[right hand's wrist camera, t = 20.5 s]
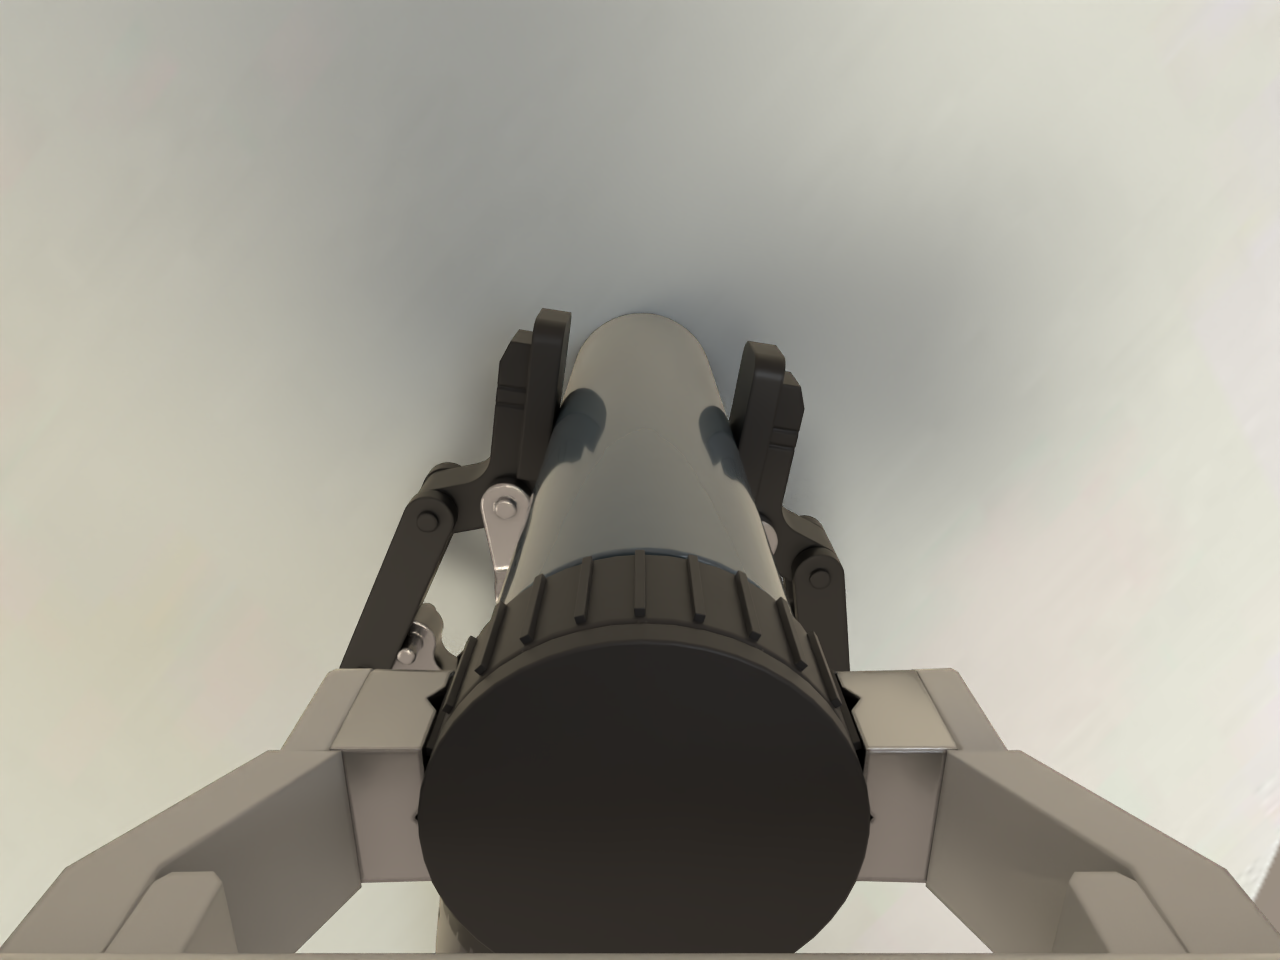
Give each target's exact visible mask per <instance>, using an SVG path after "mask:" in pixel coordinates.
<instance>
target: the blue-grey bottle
mask: <svg viewBox="0 0 1280 960" xmlns="http://www.w3.org/2000/svg"><path fill="white" fill-rule="evenodd" d="M635 550H645V555H657V556H671V557H677V558H682V559H687V558H688V555H689V554H690V555H695V556H697V557H698V562H701V563H704V564H707V565H711V566H714V567H717V568H720V569H723V570H725V571H727V572H729V573H732V574H734V575H736V573H737V571H738V570H739V571H741V572H743V573H745V574H746V575H747V579H748V582H750V583H751V584H753V585H755V586H756V587H758V588H760V589H761V590H763V591H765V592H766V593H767V594H769V595H770V596H771V597H772V598H774V599H775V600H777V599H778V598H780V597H782V598H783V599H785V600H786V601H787V603H788V606H789V609H790V612H791V615H792V616H793V617H794V615H793V612H792V609H791V606H790V603H789V600H788V597H787V594H786V591H785V588H784V585H783V582H782V579H781V576H780V573H779V570H778V567H777V564H776V561H775V558H774V555H773V552H772V549H771V546H770V543H769V541H768V538H767V535H766V532H765V529H764V526H763V523H762V520H761V517H760V514H759V511H758V508H757V505H756V502H755V499H754V496H753V493H752V490H751V487H750V484H749V481H748V478H747V475H746V472H745V469H744V466H743V463H742V460H741V457H740V454H739V451H738V448H737V445H736V442H735V439H734V436H733V433H732V430H731V427H730V424H729V421H728V418H727V415H726V412H725V409H724V406H723V403H722V400H721V397H720V395H719V392H718V389H717V386H716V383H715V380H714V377H713V374H712V371H711V368H710V365H709V362H708V359H707V356H706V354H705V352H704V350H703V348H702V346H701V345H700V343H699V342H698V340H697V339H696V338H695V337H694V336H693V335H692V334H691V333H690V332H689V331H688V330H687V329H686V328H684V327H683V326H682V325H680V324H679V323H677V322H675V321H673V320H671V319H669V318H666V317H663V316H660V315H655V314H648V313H634V314H628V315H623V316H620V317H617V318H615V319H612V320H610V321H608V322H606V323H605V324H603V325H602V326H600V327H599V328H598V329H597V330H595V331H594V332H593V333H592V334H591V335H590V336H589V337H588V339H587V340H586V341H585V343H584V344H583V346H582V347H581V349H580V351H579V353H578V355H577V358H576V361H575V364H574V367H573V370H572V373H571V376H570V379H569V382H568V385H567V388H566V391H565V394H564V397H563V401H562V404H561V407H560V410H559V413H558V416H557V419H556V422H555V425H554V428H553V431H552V434H551V438H550V441H549V444H548V447H547V450H546V453H545V456H544V459H543V462H542V465H541V468H540V471H539V475H538V478H537V481H536V484H535V487H534V490H533V493H532V496H531V499H530V502H529V505H528V508H527V512H526V515H525V518H524V521H523V524H522V527H521V530H520V533H519V536H518V539H517V542H516V545H515V549H514V552H513V555H512V558H511V561H510V564H509V567H508V570H507V573H506V576H505V579H504V582H503V586H502V589H501V592H500V595H499V598H498V601H497V604H498V603H499V602H500V601H502V602H503V603H505V604H507V603H509V602H510V601H511V600H512V599H513V598H515V597H516V596H517V595H518V594H520V593H521V592H523V591H524V590H526V589H528V588H529V587H531V586H532V585H533V583H534V579H535V577H536V576H538V575H540V574H543V575H544V576H545V578H547V577H549V576H551V575H553V574H556V573H558V572H560V571H562V570H564V569H567V568H570V567H573V566H577V565H580V564H582V559H583V558H584V557H588V556H592V559H593V561H594V560H599V559H605V558H610V557H615V556H630V555H635ZM497 604H496V605H497Z"/></svg>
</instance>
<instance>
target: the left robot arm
mask: <svg viewBox="0 0 1280 960" xmlns="http://www.w3.org/2000/svg"><path fill="white" fill-rule="evenodd" d="M570 325H571V312H565V311H558V310H552V309H545V308H542V310H541V311H540V313H539V314H538V316H537V317H536V320H535V324H534V328H533V331H526V330H520V329H519V330H518V332H517V333H516V335H515V336H514V337H513V339H512V340H511V342H510V344H509V345H508V347H507V349H506V351H505V353H504V355H503V356H502V358H501V360H500V364H499V374H498V387H497V394H496V405H495V415H494V425H493V435H492V445H491V455H490V458H488V459H487V460H485V461H483V462H481V463H477V464H472V465H467V466H460V465H458V464H455V463H441V464H438V465H437V466H435V467H434V468H433V469H432V470H431V471H430V472H429V474H428V475H427V477H426V478H425V480H424V483H423V485H422V487H421V489H420V491H419V492H418V494H416V495H415V496H414V497H413V498H412V499H411V501H410V502H409V504H408V505H407V507H406V508H405V510H404V512H403V515H402V517H401V520H400V522H399V525H398V527H397V529H396V532H395V534H394V537H393V539H392V542H391V544H390V546H389V549H388V551H387V554H386V556H385V559H384V561H383V563H382V566H381V568H380V571H379V573H378V575H377V578H376V580H375V583H374V585H373V588H372V590H371V592H370V595H369V597H368V600H367V602H366V605H365V607H364V609H363V612H362V614H361V617H360V619H359V621H358V624H357V626H356V629H355V631H354V634H353V636H352V638H351V641H350V643H349V646H348V648H347V651H346V653H345V655H344V658H343V660H342V663H341V665H340V668H339V669H373V670H375V669H407V670H454V671H455V672H456V670H457V667H458V664H459V661H460V659H461V656H462V653H463V651H462V652H461V653H460V654H459V655H458V656H457V657H456V656H454V655H452V654H451V653H449V652H448V651H447V650H446V648H445V647H444V645H443V643H442V631H443V620H442V617H441V616H440V614H439V613H438V612H437V611H436V608H435V607H434V606H433V605H432V604H430V603H423V601H424V599H425V597H426V595H427V592H428V590H429V588H430V586H431V583H432V581H433V579H434V576H435V574H436V572H437V570H438V567H439V565H440V563H441V561H442V558H443V556H444V554H445V551H446V549H447V547H448V545H449V542H450V540H451V538H452V536H453V533H458V532H464V531H469V530H475V529H480V528H485V531H486V536H487V540H488V544H489V549H490V553H491V557H492V562H493V566H494V572H495V598H496V604H497V601H498V598H499V595H500V592H501V589H502V586H503V582H504V579H505V576H506V573H507V570H508V567H509V564H510V561H511V558H512V555H513V552H514V549H515V545H516V542H517V539H518V536H519V533H520V530H521V527H522V524H523V521H524V518H525V515H526V512H527V508H528V505H529V502H530V499H531V496H532V493H533V490H534V487H535V484H536V481H537V478H538V475H539V471H540V468H541V465H542V462H543V459H544V456H545V453H546V450H547V447H548V444H549V441H550V438H551V434H552V431H553V428H554V425H555V422H556V419H557V416H558V413H559V410H560V404H561V396H562V388H563V381H564V373H565V365H566V357H567V349H568V341H569V333H570ZM803 413H804V404H803V398H802V392H801V386H800V385H799V384H798V382H797V381H796V379H795V378H794V376H793V375H792V374H791V372H786V371H785V357H784V356H783V354H782V353H781V352H780V350H779V349H778V347H777V346H776V345H770V344H764V343H758V342H751V341H747V342H746V345H745V347H744V351H743V355H742V360H741V365H740V370H739V375H738V380H737V384H736V389H735V394H734V399H733V404H732V409H731V414H730V419H729V424H730V427H731V430H732V433H733V436H734V439H735V442H736V445H737V448H738V451H739V454H740V457H741V460H742V463H743V466H744V469H745V472H746V475H747V478H748V481H749V484H750V487H751V490H752V493H753V496H754V499H755V502H756V505H757V508H758V511H759V514H760V517H761V520H762V523H763V526H764V529H765V532H766V535H767V538H768V541H769V543H770V546H771V549H772V552H773V555H774V558H775V561H776V564H777V567H778V570H779V573H780V576H782V577H783V584H784V588H785V591H786V594H787V597H788V600H789V603H790V606H791V609H792V612H793V615H794V618H795V619H796V620H797V621H798V622H799V623H800V624H801V626H802V627H803V628H804V630H805V631H806V633H809V632H811V631H814V632H815V634H816V635H817V637H818V640H819V643H820V645H821V648H822V651H823V653H824V656H825V659H826V662H827V664H828V667H829V670H834V672H842V671H850V664H849V647H848V629H847V612H846V595H845V578H844V570H843V567H842V565H841V563H840V561H839V559H838V557H837V555H836V553H835V551H834V549H833V547H832V545H831V543H830V541H829V539H828V537H827V535H826V533H825V531H824V529H823V527H822V525H821V523H820V522H819V521H818V520H816V519H815V518H813V517H810V516H798V515H796V514H795V513H793V512H791V511H789V510H787V509H786V508H784V507H783V506H782V503H783V498H784V493H785V489H786V485H787V481H788V476H789V472H790V468H791V464H792V459H793V455H794V449H795V447H796V442H797V438H798V432H799V430H800V425H801V421H802V417H803ZM476 639H477V638H476ZM436 953H493V952H492V951H491V950H489V949H488V948H487V947H485V946H484V945H483V944H482V943H480V942H479V941H478V940H476V939H475V938H474V937H473V936H472V935H471V934H470V933H469V932H468V931H467V930H466V929H465V928H464V927H463V926H462V925H461V924H460V923H459V922H458V920H457V919H456V918H455V917H454V915H453V914H452V913H451V911H450V910H449V909H448V907H447V906H446V905H445V904H444V902H443V900H442V899H441V897H440V903H439V913H438V924H437V936H436Z"/></svg>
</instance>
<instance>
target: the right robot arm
mask: <svg viewBox="0 0 1280 960" xmlns="http://www.w3.org/2000/svg"><path fill="white" fill-rule="evenodd" d="M834 673H835V675H836V678H837V681H838V683H839V686H840V689H841V691H842V694H843V697H844V699H845V702H846V705H847V707H848V710H849V713H850V715H851V718H852V720H853V723H854V726H855V728H856V731H857V734H858V736H859V739H860V742H861V745H862V749H860V750H856V754H857V756H858V759H859V762H860V765H861V768H862V771H863V775H864V778H865V781H866V784H867V789H868V796H869V803H870V834H869V839H868V844H867V849H866V855H865V859H864V862H863V864H862V867H861V870H860V872H859V875H858V878H857V881H882V882H917V883H926V887H927V888H928V889H929V890H930V891H931V892H932V893H933V894H934V895H935V896H936V897H937V898H938V899H939V900H940V901H941V902H942V903H943V904H944V905H945V906H946V907H947V908H948V909H949V910H950V911H952V912H953V913H954V914H955V915H956V916H957V917H958V918H959V919H960V920H961V921H962V922H963V923H964V924H965V925H966V926H967V927H968V928H969V929H970V930H971V931H972V932H973V933H974V934H975V935H976V936H977V937H978V938H979V939H980V940H981V941H982V942H983V943H984V944H985V945H986V946H987V947H988V948H989V949H990V950H991V951H992V952H993V953H295V952H296V951H297V950H298V949H299V948H300V947H301V946H302V945H303V944H304V943H305V942H306V941H307V940H308V939H309V938H310V937H311V936H312V935H313V934H314V933H315V932H317V931H318V930H319V929H320V928H321V927H322V926H323V925H324V924H325V923H326V922H327V921H328V920H329V919H330V918H331V917H332V916H333V915H334V914H335V913H336V912H337V911H338V910H339V909H340V908H341V907H342V906H343V905H344V904H345V903H346V902H347V901H348V900H349V899H350V898H351V897H352V896H353V895H354V894H355V893H356V892H357V891H358V890H359V889H360V888H361V883H370V882H404V881H432V880H431V878H430V875H429V872H428V870H427V867H426V865H425V862H424V859H423V854H422V849H421V845H420V840H419V834H418V804H419V796H420V788H421V785H422V781H423V778H424V775H425V771H426V768H427V765H428V762H429V759H430V756H427V750H426V747H427V744H428V741H429V739H430V736H431V733H432V731H433V728H434V725H435V723H436V720H437V715H438V712H439V710H440V707H441V704H442V701H443V699H444V696H445V694H446V693H447V690H448V687H449V684H450V681H451V679H452V676H454V675H455V671H454V670H407V669H375V670H373V669H335V670H332V671H330V672H329V673H328V674H327V675H326V677H325V678H324V680H323V681H322V683H321V685H320V686H319V688H318V690H317V691H316V693H315V694H314V696H313V698H312V699H311V701H310V703H309V704H308V706H307V707H306V709H305V711H304V712H303V714H302V716H301V717H300V719H299V721H298V722H297V724H296V725H295V727H294V729H293V730H292V732H291V734H290V735H289V737H288V738H287V740H286V742H285V743H284V745H283V747H282V748H281V750H268V751H266V752H264V753H263V754H261V755H259V756H257V757H256V758H254V759H252V760H251V761H249V762H247V763H245V764H244V765H242V766H240V767H238V768H237V769H235V770H233V771H232V772H230V773H228V774H226V775H225V776H223V777H221V778H219V779H218V780H216V781H214V782H213V783H211V784H209V785H207V786H206V787H204V788H202V789H201V790H199V791H197V792H195V793H194V794H192V795H190V796H188V797H187V798H185V799H183V800H182V801H180V802H178V803H176V804H175V805H173V806H171V807H170V808H168V809H166V810H164V811H163V812H161V813H159V814H157V815H156V816H154V817H152V818H151V819H149V820H147V821H145V822H144V823H142V824H140V825H139V826H137V827H135V828H133V829H132V830H130V831H128V832H126V833H125V834H123V835H121V836H120V837H118V838H116V839H114V840H113V841H111V842H109V843H107V844H106V845H104V846H102V847H101V848H99V849H97V850H95V851H94V852H92V853H90V854H89V855H87V856H85V857H83V858H82V859H80V860H78V861H76V862H75V863H73V864H71V865H70V866H68V867H66V868H65V869H64V870H63V871H62V873H61V874H60V875H59V876H58V877H57V879H56V880H55V881H54V882H53V884H52V885H51V886H50V887H49V889H48V890H47V891H46V892H45V893H44V895H43V896H42V897H41V898H40V900H39V901H38V902H37V903H36V904H35V906H34V907H33V908H32V909H31V911H30V912H29V913H28V914H27V916H26V917H25V918H24V919H23V920H22V922H21V923H20V924H19V925H18V927H17V928H16V929H15V930H14V931H13V933H12V934H11V935H10V936H9V938H8V939H7V940H6V941H5V943H4V944H3V945H2V946H1V947H0V960H1280V934H1279V933H1278V931H1277V930H1276V929H1275V928H1274V927H1273V925H1272V924H1271V923H1270V922H1269V921H1268V919H1267V918H1266V917H1265V916H1264V914H1263V913H1262V912H1261V911H1260V910H1259V908H1258V907H1257V906H1256V905H1255V904H1254V902H1253V901H1252V900H1251V899H1250V897H1249V896H1248V895H1247V894H1246V893H1245V891H1244V890H1243V889H1242V888H1241V887H1240V885H1239V884H1238V883H1237V882H1236V880H1235V879H1234V878H1233V877H1232V876H1231V874H1230V873H1229V872H1228V871H1227V870H1226V869H1225V868H1223V867H1221V866H1220V865H1218V864H1216V863H1214V862H1213V861H1211V860H1209V859H1208V858H1206V857H1204V856H1202V855H1201V854H1199V853H1197V852H1195V851H1194V850H1192V849H1190V848H1188V847H1187V846H1185V845H1183V844H1182V843H1180V842H1178V841H1176V840H1175V839H1173V838H1171V837H1169V836H1168V835H1166V834H1164V833H1162V832H1161V831H1159V830H1157V829H1156V828H1154V827H1152V826H1150V825H1149V824H1147V823H1145V822H1143V821H1142V820H1140V819H1138V818H1137V817H1135V816H1133V815H1131V814H1130V813H1128V812H1126V811H1124V810H1123V809H1121V808H1119V807H1117V806H1116V805H1114V804H1112V803H1111V802H1109V801H1107V800H1105V799H1104V798H1102V797H1100V796H1098V795H1097V794H1095V793H1093V792H1091V791H1090V790H1088V789H1086V788H1085V787H1083V786H1081V785H1079V784H1078V783H1076V782H1074V781H1072V780H1071V779H1069V778H1067V777H1065V776H1064V775H1062V774H1060V773H1059V772H1057V771H1055V770H1053V769H1052V768H1050V767H1048V766H1046V765H1045V764H1043V763H1041V762H1039V761H1038V760H1036V759H1034V758H1033V757H1031V756H1029V755H1027V754H1026V753H1024V752H1022V751H1020V750H1007V748H1006V747H1005V745H1004V743H1003V742H1002V740H1001V739H1000V737H999V736H998V734H997V732H996V731H995V729H994V728H993V726H992V725H991V723H990V721H989V720H988V718H987V717H986V715H985V714H984V712H983V710H982V709H981V707H980V706H979V704H978V703H977V701H976V699H975V698H974V696H973V695H972V693H971V692H970V690H969V688H968V687H967V685H966V684H965V682H964V681H963V679H962V677H961V676H960V674H959V673H958V672H957V671H956V670H954V669H952V668H940V669H912V670H889V671H842V672H834Z"/></svg>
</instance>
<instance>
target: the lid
mask: <svg viewBox="0 0 1280 960" xmlns="http://www.w3.org/2000/svg"><path fill="white" fill-rule="evenodd" d="M860 749H862V745H861V742H860V739H859V736H858V734H857V731H856V728H855V726H854V723H853V720H852V718H851V715H850V713H849V710H848V707H847V705H846V702H845V699H844V697H843V694H842V691H841V689H840V686H839V683H838V681H837V678H836V675H835V673H834V670H829V667H828V664H827V662H826V659H825V656H824V653H823V651H822V648H821V645H820V643H819V640H818V637H817V635H816V634H815V632H814V631H811V632H809V633H806V631H805V630H804V628H803V627H802V626H801V624H800V623H799V622H798V621H797V620H796V619H795V618H794V617H793V616H792V615H791V612H790V609H789V606H788V603H787V601H786V600H785V599H783V598H782V597H780V598H778V599H777V600H775V599H774V598H772V597H771V596H770V595H769V594H767V593H766V592H765V591H763V590H761V589H760V588H758V587H756V586H755V585H753V584H751V583H750V582H748V579H747V575H746V574H745V573H743V572H741V571H739V570H738V571H737V573H736V575H734V574H732V573H729V572H727V571H725V570H723V569H720V568H717V567H714V566H711V565H707V564H704V563H701V562H698V557H697V556H695V555H690V554H689V555H688V558H687V559H682V558H677V557H671V556H657V555H645V550H635V555H630V556H615V557H610V558H605V559H599V560H594V561H593V559H592V556H588V557H584V558H583V559H582V564H580V565H577V566H573V567H570V568H567V569H564V570H562V571H560V572H558V573H556V574H553V575H551V576H549V577H547V578H545V576H544V575H543V574H540V575H538V576H536V577H535V579H534V583H533V585H532V586H531V587H529V588H528V589H526V590H524V591H523V592H521V593H520V594H518V595H517V596H516V597H515V598H513V599H512V600H511V601H510V602H509V603H507V604H505V603H503V602H502V601H500V602H499V603H498V604H497V605H496V606H495V608H494V612H493V615H492V618H491V620H490V621H489V622H488V624H487V625H486V626H485V627H484V628H483V630H482V631H481V633H480V634H479V636H478V637H477V639H476V638H474V637H472V636H470V637H469V639H468V640H467V642H466V645H465V648H464V650H463V653H462V656H461V659H460V661H459V664H458V667H457V670H456V672H455V675H454V676H452V679H451V681H450V684H449V687H448V690H447V693H446V694H445V696H444V699H443V701H442V704H441V707H440V710H439V712H438V715H437V720H436V723H435V725H434V728H433V731H432V733H431V736H430V739H429V741H428V744H427V747H426V750H427V756H430V759H429V762H428V765H427V768H426V771H425V775H424V778H423V781H422V785H421V788H420V796H419V804H418V834H419V840H420V845H421V849H422V854H423V859H424V862H425V865H426V867H427V870H428V872H429V875H430V878H431V880H432V883H433V884H434V886H435V888H436V890H437V892H438V893H439V895H440V897H441V899H442V900H443V902H444V904H445V905H446V906H447V907H448V909H449V910H450V911H451V913H452V914H453V915H454V917H455V918H456V919H457V920H458V922H459V923H460V924H461V925H462V926H463V927H464V928H465V929H466V930H467V931H468V932H469V933H470V934H471V935H472V936H473V937H474V938H475V939H476V940H478V941H479V942H480V943H482V944H483V945H484V946H485V947H487V948H488V949H489V950H491V951H492V952H493V953H795V952H796V951H797V950H799V949H800V948H801V947H802V946H804V945H805V944H806V943H808V942H809V941H810V940H811V939H813V938H814V937H815V936H816V935H817V934H818V933H819V932H820V931H821V930H822V929H823V928H824V927H825V926H826V925H827V924H828V923H829V922H830V920H831V919H832V918H833V917H834V915H835V914H836V913H837V911H838V910H839V909H840V907H841V906H842V905H843V903H844V902H845V901H846V899H847V897H848V895H849V893H850V891H851V890H852V888H853V886H854V884H855V882H856V881H857V878H858V875H859V872H860V870H861V867H862V864H863V862H864V859H865V855H866V849H867V844H868V839H869V834H870V803H869V796H868V789H867V784H866V781H865V778H864V775H863V771H862V768H861V765H860V762H859V759H858V756H857V754H856V750H860Z"/></svg>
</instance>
